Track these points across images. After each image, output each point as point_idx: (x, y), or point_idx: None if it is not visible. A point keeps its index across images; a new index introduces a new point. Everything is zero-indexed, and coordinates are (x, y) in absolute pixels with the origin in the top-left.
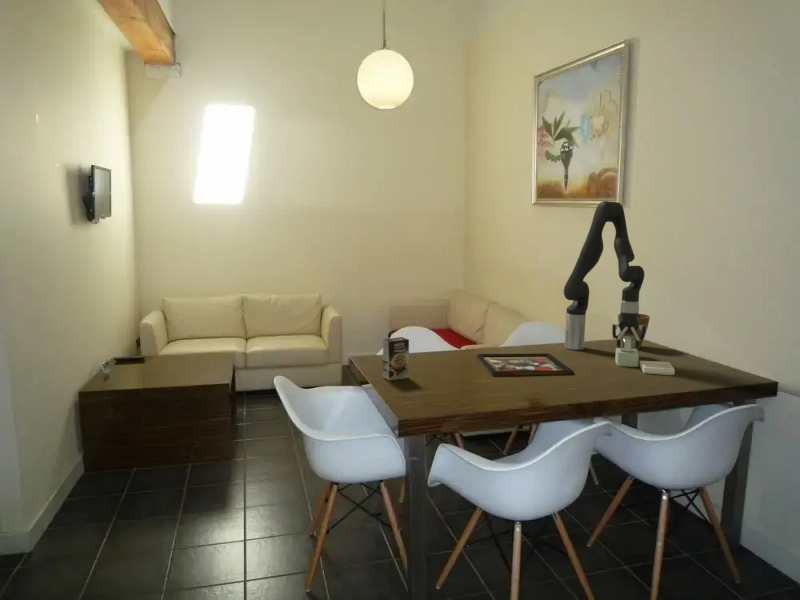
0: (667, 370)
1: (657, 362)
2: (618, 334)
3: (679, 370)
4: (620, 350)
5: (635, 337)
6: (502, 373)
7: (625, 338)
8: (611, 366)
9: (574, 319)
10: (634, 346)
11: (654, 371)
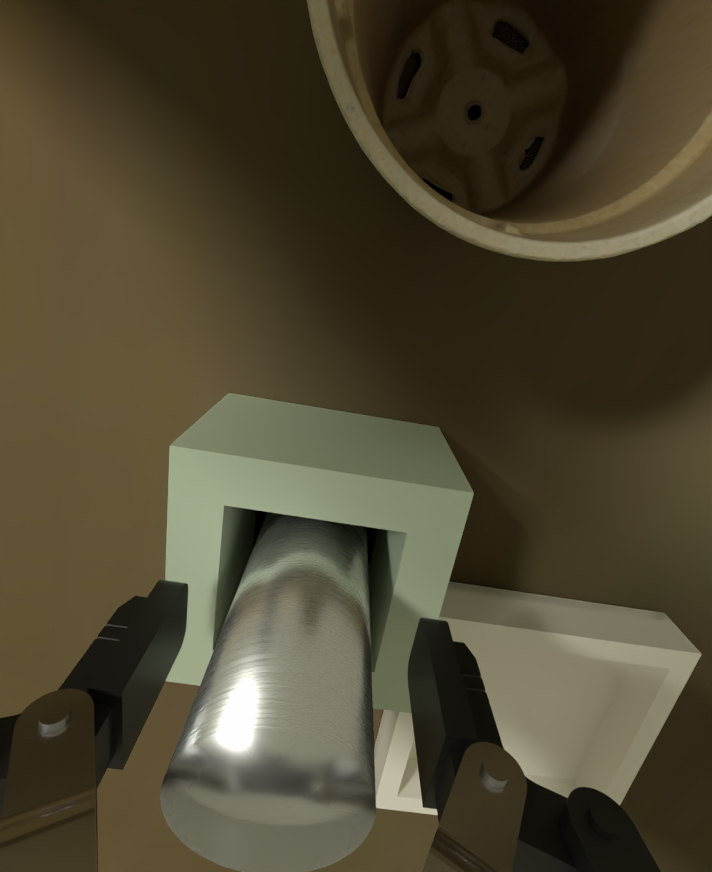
0: None
1: (583, 653)
2: (5, 820)
3: (708, 675)
4: (212, 587)
5: (448, 803)
6: None
7: (200, 842)
8: None
9: None
10: (561, 215)
11: None
